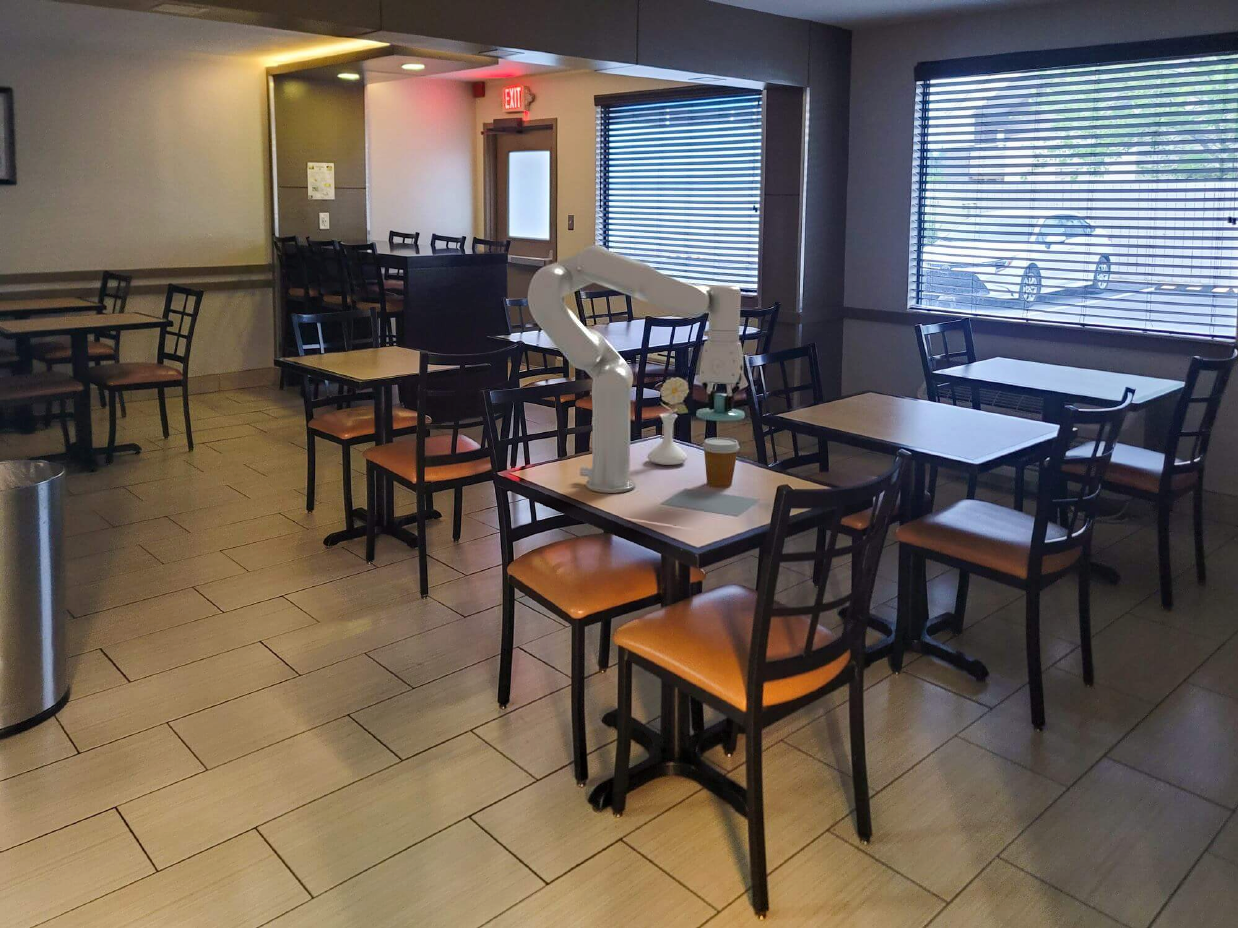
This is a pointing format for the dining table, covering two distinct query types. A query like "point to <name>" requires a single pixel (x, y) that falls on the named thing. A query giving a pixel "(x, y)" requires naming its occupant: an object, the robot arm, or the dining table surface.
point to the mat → (710, 502)
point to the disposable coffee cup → (720, 461)
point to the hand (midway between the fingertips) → (720, 409)
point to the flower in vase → (670, 424)
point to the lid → (720, 411)
